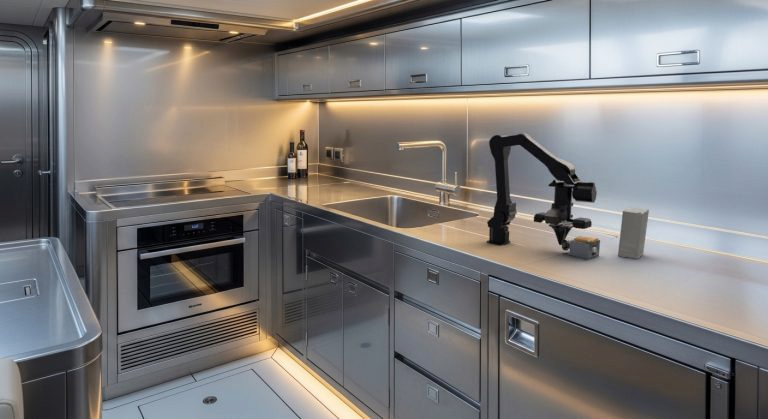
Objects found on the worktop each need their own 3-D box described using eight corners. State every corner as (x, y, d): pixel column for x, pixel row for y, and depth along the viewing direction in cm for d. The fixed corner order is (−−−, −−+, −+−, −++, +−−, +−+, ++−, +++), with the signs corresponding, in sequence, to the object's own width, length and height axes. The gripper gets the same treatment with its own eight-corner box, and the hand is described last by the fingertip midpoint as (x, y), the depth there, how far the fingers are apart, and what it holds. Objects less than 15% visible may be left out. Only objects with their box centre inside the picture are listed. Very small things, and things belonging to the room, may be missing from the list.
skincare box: (623, 251, 185) (627, 206, 182) (646, 254, 180) (650, 208, 177) (616, 256, 178) (620, 209, 175) (639, 259, 174) (643, 212, 171)
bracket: (562, 255, 180) (563, 236, 179) (573, 250, 185) (574, 233, 184) (588, 260, 174) (589, 241, 173) (599, 255, 179) (600, 237, 178)
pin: (561, 250, 183) (561, 240, 182) (566, 249, 185) (567, 238, 184) (593, 256, 174) (594, 246, 174) (598, 255, 177) (599, 244, 176)
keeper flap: (574, 240, 178) (574, 238, 178) (580, 238, 181) (580, 236, 181) (591, 242, 174) (591, 240, 174) (597, 240, 177) (597, 238, 177)
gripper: (525, 199, 183) (524, 244, 186) (577, 206, 170) (575, 253, 172) (542, 196, 191) (540, 239, 193) (593, 202, 177) (590, 247, 180)
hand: (560, 244), depth 184 cm, fingers closed
